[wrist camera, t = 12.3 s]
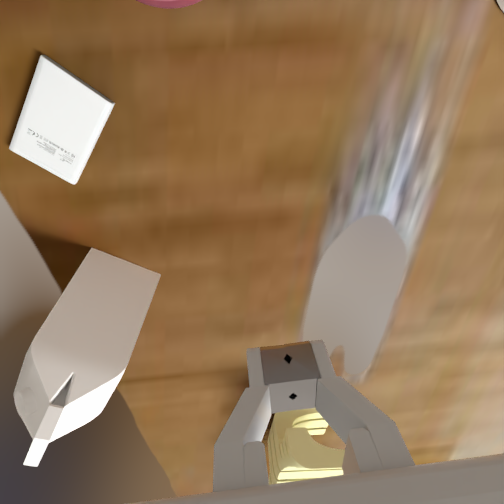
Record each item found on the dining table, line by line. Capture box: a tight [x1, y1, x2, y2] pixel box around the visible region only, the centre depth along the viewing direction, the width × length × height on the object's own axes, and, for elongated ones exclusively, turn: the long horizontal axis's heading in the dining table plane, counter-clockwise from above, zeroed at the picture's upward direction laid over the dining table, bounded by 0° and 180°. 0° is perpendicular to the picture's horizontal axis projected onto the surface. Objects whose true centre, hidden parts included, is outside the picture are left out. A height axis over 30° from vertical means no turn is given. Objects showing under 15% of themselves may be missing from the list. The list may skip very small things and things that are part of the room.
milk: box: [14, 247, 161, 467], centre depth 40 cm, size 12×12×26 cm
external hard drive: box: [9, 55, 115, 184], centre depth 37 cm, size 2×8×12 cm
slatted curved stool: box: [268, 408, 345, 485], centre depth 71 cm, size 30×16×18 cm, turn 173°
